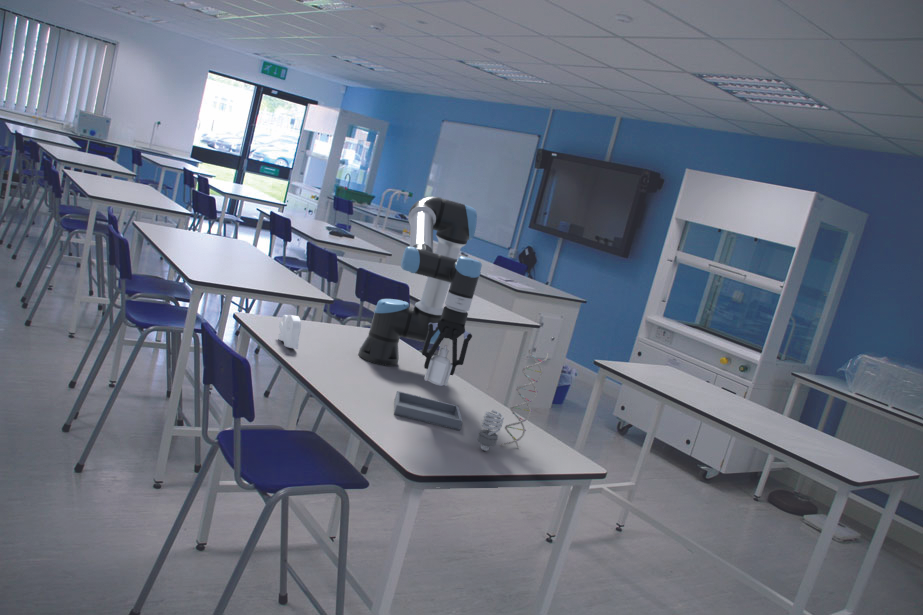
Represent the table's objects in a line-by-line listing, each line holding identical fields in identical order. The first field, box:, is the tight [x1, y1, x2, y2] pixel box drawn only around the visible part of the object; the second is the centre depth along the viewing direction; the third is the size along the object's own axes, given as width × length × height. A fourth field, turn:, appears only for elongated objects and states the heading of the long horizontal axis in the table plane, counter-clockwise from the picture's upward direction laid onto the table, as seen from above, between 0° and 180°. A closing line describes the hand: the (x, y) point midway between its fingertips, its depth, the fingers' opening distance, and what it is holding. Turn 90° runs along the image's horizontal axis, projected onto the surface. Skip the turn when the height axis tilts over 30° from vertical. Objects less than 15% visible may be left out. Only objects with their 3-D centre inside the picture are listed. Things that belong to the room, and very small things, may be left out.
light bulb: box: [477, 409, 505, 452], centre depth 181 cm, size 6×6×12 cm
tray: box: [393, 390, 463, 431], centre depth 198 cm, size 14×20×3 cm
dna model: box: [500, 348, 550, 449], centre depth 189 cm, size 7×6×30 cm
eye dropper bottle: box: [427, 344, 451, 387], centre depth 196 cm, size 4×6×12 cm
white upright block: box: [278, 314, 302, 350], centre depth 231 cm, size 3×15×11 cm, turn 31°
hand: (435, 381), depth 197 cm, fingers closed on eye dropper bottle, 5 cm apart
